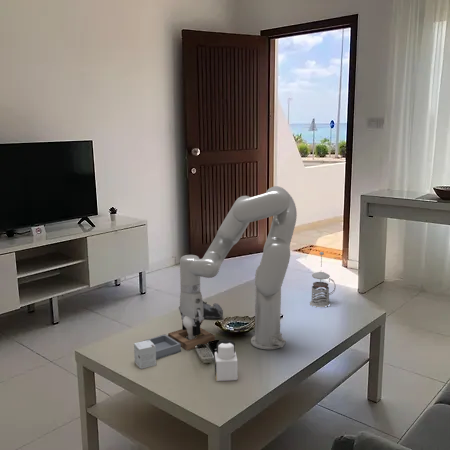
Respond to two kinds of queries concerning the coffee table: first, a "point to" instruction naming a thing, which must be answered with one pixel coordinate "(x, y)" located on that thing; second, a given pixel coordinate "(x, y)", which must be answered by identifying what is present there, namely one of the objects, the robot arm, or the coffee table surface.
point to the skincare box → (145, 354)
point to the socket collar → (190, 344)
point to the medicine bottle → (226, 361)
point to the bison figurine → (212, 311)
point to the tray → (165, 346)
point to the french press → (320, 300)
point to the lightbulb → (189, 326)
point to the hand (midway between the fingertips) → (191, 331)
